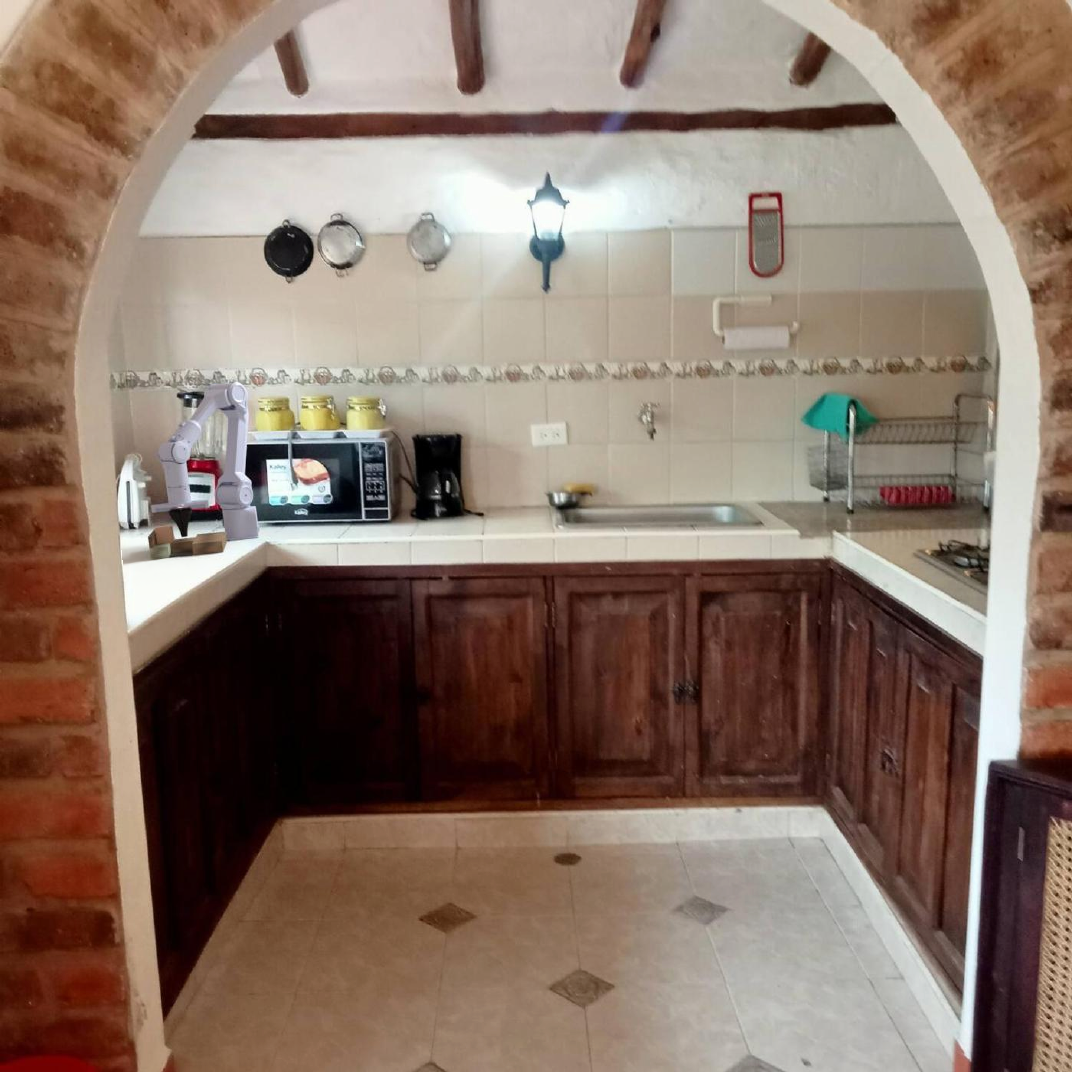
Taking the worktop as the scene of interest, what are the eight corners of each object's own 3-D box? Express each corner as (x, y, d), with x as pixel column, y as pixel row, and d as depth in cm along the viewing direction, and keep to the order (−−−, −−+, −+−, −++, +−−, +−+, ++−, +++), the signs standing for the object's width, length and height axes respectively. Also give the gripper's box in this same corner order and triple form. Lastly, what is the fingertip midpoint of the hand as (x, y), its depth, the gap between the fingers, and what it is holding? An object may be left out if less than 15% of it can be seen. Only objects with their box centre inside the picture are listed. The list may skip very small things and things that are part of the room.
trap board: (226, 541, 264) (224, 520, 263) (223, 552, 249) (220, 529, 248) (158, 548, 260) (155, 527, 259) (150, 559, 245) (147, 536, 244)
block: (174, 539, 255) (172, 525, 254) (172, 542, 251) (170, 527, 251) (158, 541, 254) (156, 526, 253) (156, 543, 250) (154, 529, 250)
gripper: (146, 490, 246) (153, 541, 248) (205, 485, 249) (211, 536, 252) (150, 487, 253) (157, 537, 255) (207, 482, 256) (213, 531, 258)
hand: (184, 536), depth 254 cm, fingers closed
